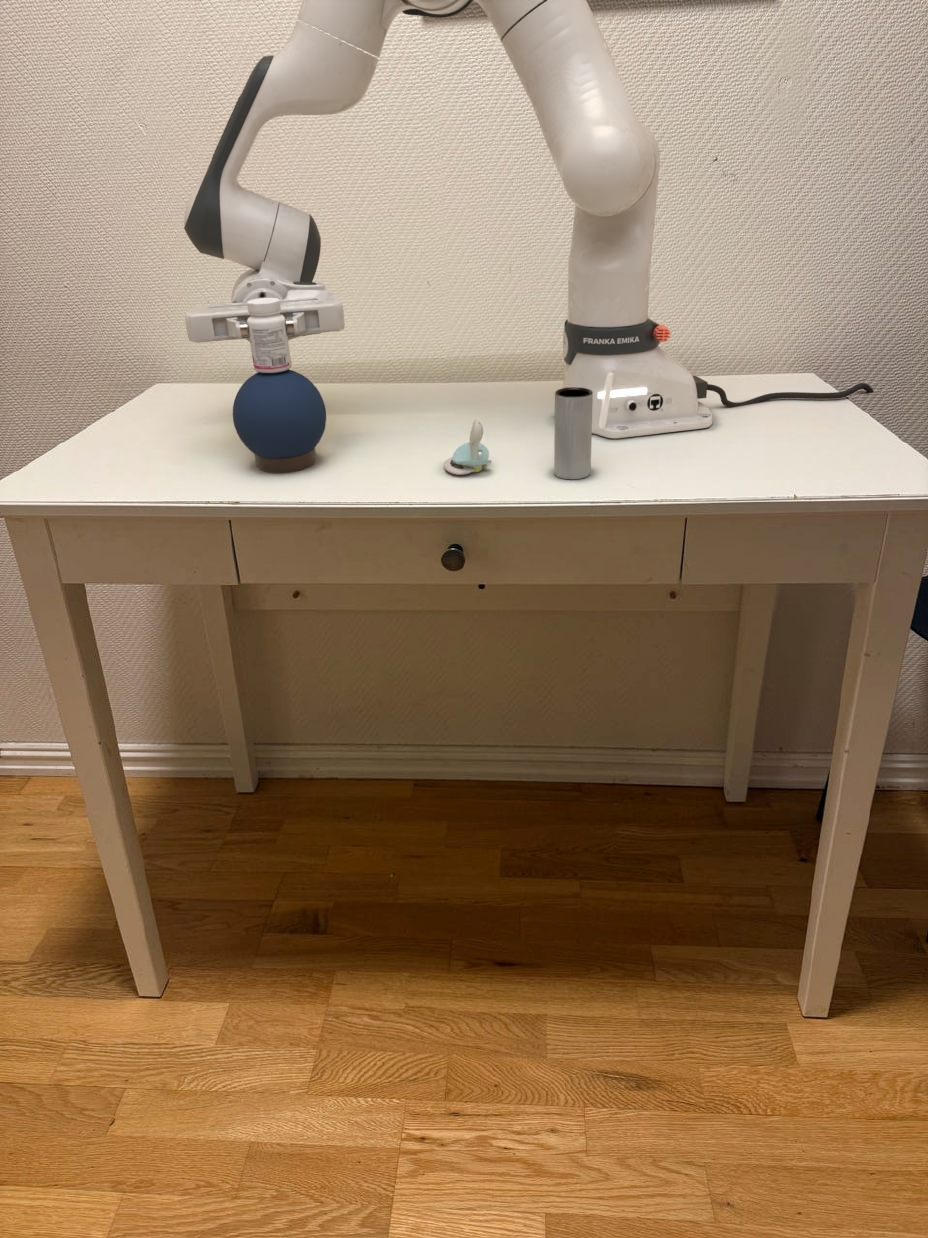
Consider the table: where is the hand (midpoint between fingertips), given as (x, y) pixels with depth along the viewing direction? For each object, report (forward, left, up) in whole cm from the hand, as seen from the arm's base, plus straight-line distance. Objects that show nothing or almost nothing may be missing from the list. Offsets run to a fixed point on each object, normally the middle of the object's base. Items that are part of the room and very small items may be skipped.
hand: (267, 329), depth 113 cm
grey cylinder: (-37, +9, -18) cm, 42 cm away
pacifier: (-24, +5, -18) cm, 30 cm away
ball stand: (0, -1, -18) cm, 18 cm away
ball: (0, -1, -18) cm, 18 cm away
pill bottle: (0, -1, -5) cm, 5 cm away
